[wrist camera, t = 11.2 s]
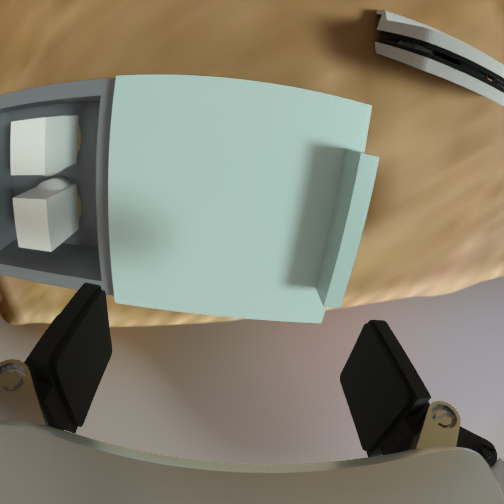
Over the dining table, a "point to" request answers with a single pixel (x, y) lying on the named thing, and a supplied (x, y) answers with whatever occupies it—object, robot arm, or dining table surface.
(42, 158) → the block
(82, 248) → the housing
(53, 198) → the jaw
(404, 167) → the dining table surface
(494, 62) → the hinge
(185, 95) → the lid
